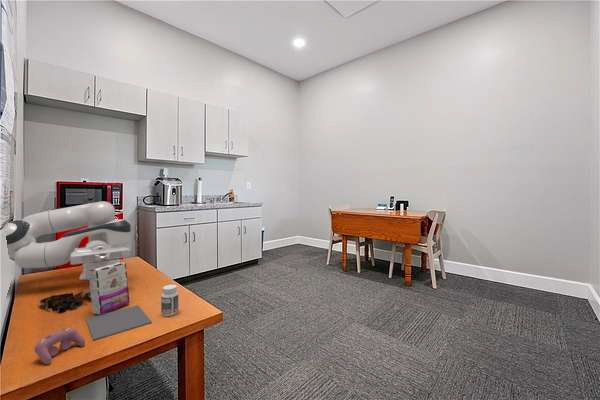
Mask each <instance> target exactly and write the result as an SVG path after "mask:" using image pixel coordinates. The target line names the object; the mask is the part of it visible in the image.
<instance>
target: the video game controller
mask: <svg viewBox="0 0 600 400" xmlns="http://www.w3.org/2000/svg"><path fill="white" fill-rule="evenodd" d="M58 343H60V344H59V348H60V350H61V351H67V350H68V349H69V348H71V346H72V343H75V344H76V345H78V347H84V346H85V345H86V340H85V338H84V337H83V336H82V335H81V333H79V331H78V330H77V329H75V328H72V327H70V328H65V329H60V330H57V331H55V332H53V333H50V334H49V335H47V336H45V337H44V338H43V339H41V340H40V341H38V342H37V343H36V344H35V346H34V352H35V354H36V355H37V356H38V358H39V360H40V361H41V362H42V363H43V364H45V365H50V364H51V363H52V357H54V356H56V355H57V354H58V353H59V348H58V347H57V346H55V345H56V344H58Z"/></svg>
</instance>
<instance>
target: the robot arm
mask: <svg viewBox="0 0 600 400" xmlns="http://www.w3.org/2000/svg"><path fill="white" fill-rule="evenodd" d="M115 213H116V209H115V206H114V205H113V204H112V203H111V202H109V201H104V200H102V201H97V202H91V203H85V204H84V203H83V204H80V205H79V204H78V205H75V206H74V205H73V206H68V207H61V208H56V209H50V210H45V211H40V212H37V213H33V214H30V215H26V216H24V217H22V219H21V220H11V221H7V222H8V226H7V236H6V240H7V248H8V255H9V257H10V258H9V257H8V258H9V259H10V260H12V261H14V262H15V264H16V266H17V267H18V268H21V269H42V268H44V269H45V268H52V267H57V266H63V265H65V264H67V263H69V262H70V265H72V266H74V265H81V268H82V269H83V270H82V272H81V273H80V276H79V278H78V279H79V281H82V280H86V281H87V280H88V281H89V271H88V270H91V269H95V268H99V267H103V266H107V265H110V264H115V263H119V262H120V259H123V258H129V257H131V252H132V237H131V235H132V234H131V232H132V231H131V228H132V225H131V224H130V222H128V221H127V220H126V219H115ZM86 226H87V227H86ZM83 227H84V228H83ZM79 228H80V229H79ZM74 229H75V230H74ZM70 230H72V231H70ZM65 231H69V232H66V233H64V234H63V235H62V236H61V237H60V238H59V239H57V240H53V241H48V242H45V241H44V242H37V240H36V239H37V238H39V237H41V236H43V235H49V234H56V233H60V232H65ZM85 237H86V238H88V242H87V243H86V244H85V246H80V247H79V245H80V243H81V241H82V240H83V239H85Z"/></svg>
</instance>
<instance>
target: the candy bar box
mask: <svg viewBox="0 0 600 400" xmlns="http://www.w3.org/2000/svg"><path fill="white" fill-rule="evenodd" d="M88 271H89V280H88V281H89V288H90V290H91V299H90V300H91V308H92V314H93V315H96V316H97V315H102V314H105V313H109V312H113V311H115V310H117V309H118V308H121V307H123V306H126V305H128V304H130V303H131V302H130V294H129V293H130V292H129V283H128V274H127V273H128V272H127V263H126V262H123V261H121V262H119V263H115V264H110V265H107V266H103V267H99V268H95V269H91V270H88Z"/></svg>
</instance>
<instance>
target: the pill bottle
mask: <svg viewBox="0 0 600 400" xmlns="http://www.w3.org/2000/svg"><path fill="white" fill-rule="evenodd" d="M177 286H178V285H176V284H167V285H164V286H163V287H162V293H161V295H160V303H161V309H160V313H161V315H162V316H164V317H169V316H171V317H172V316H174V315H176V314H178V312H179V292H178V290H177V289H178V287H177Z"/></svg>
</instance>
